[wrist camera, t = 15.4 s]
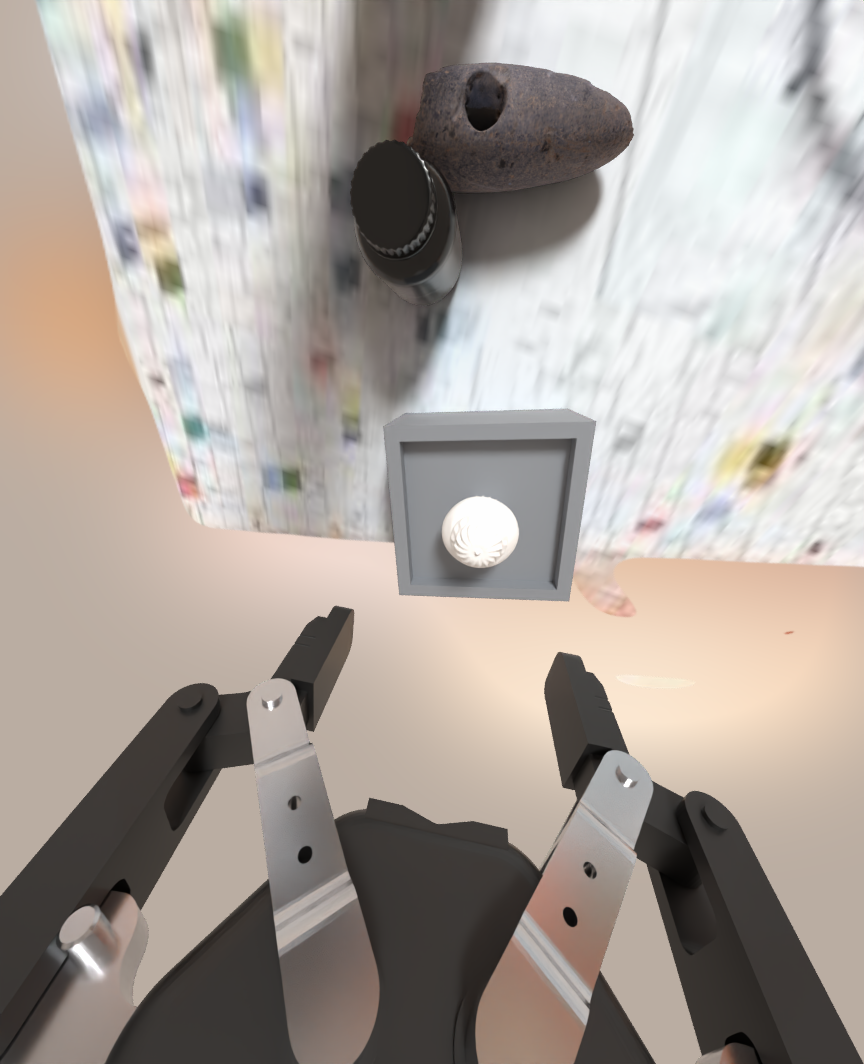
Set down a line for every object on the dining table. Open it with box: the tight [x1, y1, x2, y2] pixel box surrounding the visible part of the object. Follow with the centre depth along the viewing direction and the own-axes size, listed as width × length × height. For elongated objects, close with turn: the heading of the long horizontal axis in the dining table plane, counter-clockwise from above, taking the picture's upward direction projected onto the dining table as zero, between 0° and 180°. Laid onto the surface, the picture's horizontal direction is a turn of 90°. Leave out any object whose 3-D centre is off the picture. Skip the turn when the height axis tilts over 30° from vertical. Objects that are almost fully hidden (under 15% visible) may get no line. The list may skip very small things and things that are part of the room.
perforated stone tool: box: [406, 63, 634, 193], centre depth 24 cm, size 15×5×7 cm, turn 87°
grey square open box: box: [383, 409, 596, 601], centre depth 34 cm, size 16×16×9 cm
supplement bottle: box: [350, 140, 462, 306], centre depth 25 cm, size 7×7×12 cm
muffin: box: [442, 496, 519, 568], centre depth 28 cm, size 6×6×7 cm
